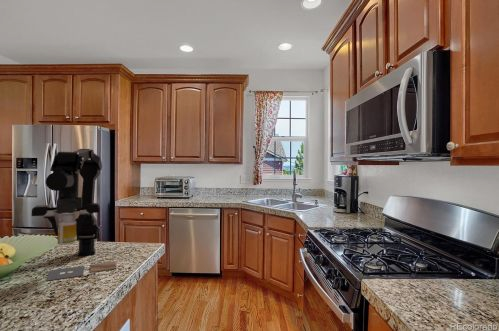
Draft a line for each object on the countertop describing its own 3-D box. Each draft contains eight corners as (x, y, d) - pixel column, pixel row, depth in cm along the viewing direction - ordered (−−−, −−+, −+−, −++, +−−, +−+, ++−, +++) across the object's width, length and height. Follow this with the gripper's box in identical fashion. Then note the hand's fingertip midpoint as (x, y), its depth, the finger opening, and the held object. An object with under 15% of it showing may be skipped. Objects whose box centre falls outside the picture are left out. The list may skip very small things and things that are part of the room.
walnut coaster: (90, 265, 99) (90, 264, 99) (115, 262, 103) (115, 261, 103) (90, 272, 92) (90, 271, 92) (116, 268, 96) (116, 267, 96)
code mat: (50, 270, 93) (50, 270, 93) (84, 266, 98) (84, 265, 98) (45, 281, 85) (45, 280, 85) (82, 275, 89) (82, 275, 89)
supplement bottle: (80, 241, 94) (81, 213, 94) (68, 245, 89) (69, 215, 89) (65, 240, 95) (66, 212, 95) (53, 244, 89) (54, 215, 89)
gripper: (28, 191, 80) (26, 243, 80) (99, 189, 89) (98, 237, 89) (35, 188, 90) (34, 235, 90) (99, 187, 99) (98, 230, 99)
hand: (67, 234), depth 92 cm, fingers closed on supplement bottle, 5 cm apart
